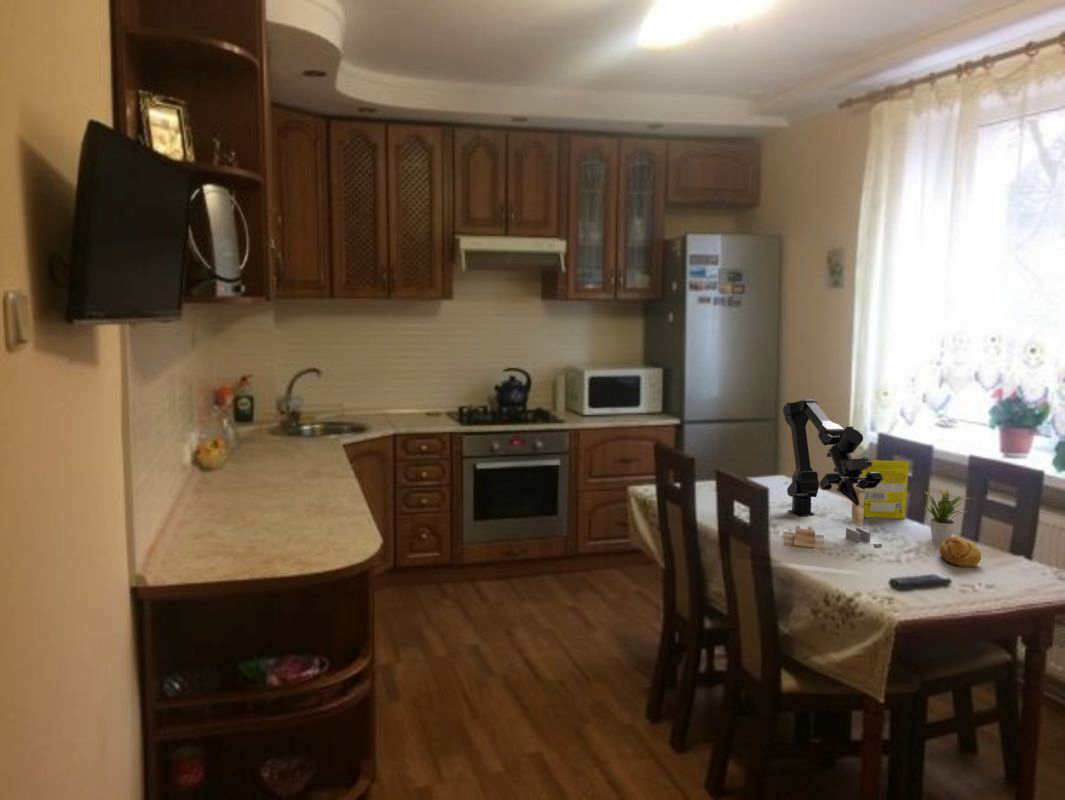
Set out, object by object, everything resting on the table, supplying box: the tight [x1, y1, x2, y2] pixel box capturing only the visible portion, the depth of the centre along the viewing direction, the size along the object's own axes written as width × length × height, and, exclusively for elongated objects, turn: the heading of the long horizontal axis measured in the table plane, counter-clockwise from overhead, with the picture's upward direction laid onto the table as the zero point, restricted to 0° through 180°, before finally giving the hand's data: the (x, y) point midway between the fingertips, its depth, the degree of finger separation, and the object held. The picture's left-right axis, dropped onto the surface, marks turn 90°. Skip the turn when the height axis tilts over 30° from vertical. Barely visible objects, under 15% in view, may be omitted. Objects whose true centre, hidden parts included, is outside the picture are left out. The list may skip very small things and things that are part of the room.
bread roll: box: [939, 535, 982, 568], centre depth 240 cm, size 13×10×8 cm
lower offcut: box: [794, 534, 816, 547], centre depth 252 cm, size 4×6×2 cm, turn 74°
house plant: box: [923, 489, 973, 543], centre depth 259 cm, size 14×14×16 cm
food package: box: [860, 459, 910, 519], centre depth 285 cm, size 15×1×20 cm, turn 84°
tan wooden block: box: [850, 486, 865, 526], centre depth 256 cm, size 4×2×11 cm, turn 11°
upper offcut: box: [794, 528, 816, 540], centre depth 251 cm, size 4×5×2 cm, turn 74°
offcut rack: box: [782, 525, 827, 551], centre depth 256 cm, size 15×12×4 cm
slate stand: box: [834, 526, 883, 548], centre depth 257 cm, size 10×10×4 cm
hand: (860, 504), depth 254 cm, fingers closed on tan wooden block, 1 cm apart
